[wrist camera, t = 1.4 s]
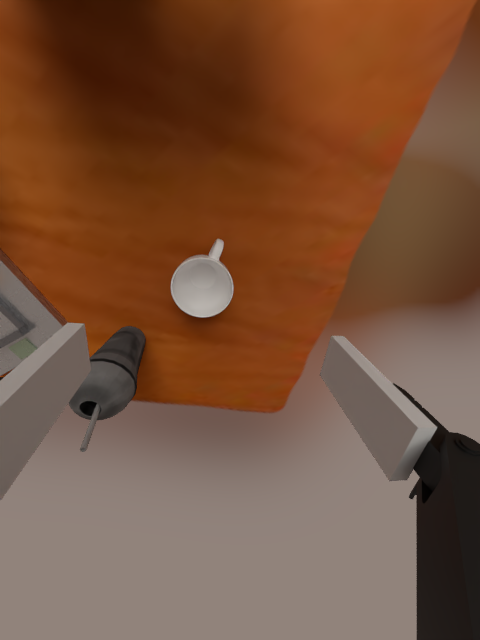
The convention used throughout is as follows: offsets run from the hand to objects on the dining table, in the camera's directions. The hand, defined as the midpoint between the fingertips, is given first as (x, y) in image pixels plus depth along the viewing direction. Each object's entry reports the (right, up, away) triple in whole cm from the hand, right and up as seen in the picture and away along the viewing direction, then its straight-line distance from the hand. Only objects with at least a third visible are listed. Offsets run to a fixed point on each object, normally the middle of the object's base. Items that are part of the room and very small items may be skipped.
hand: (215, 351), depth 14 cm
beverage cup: (-16, -1, +27) cm, 31 cm away
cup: (-4, +9, +24) cm, 26 cm away
